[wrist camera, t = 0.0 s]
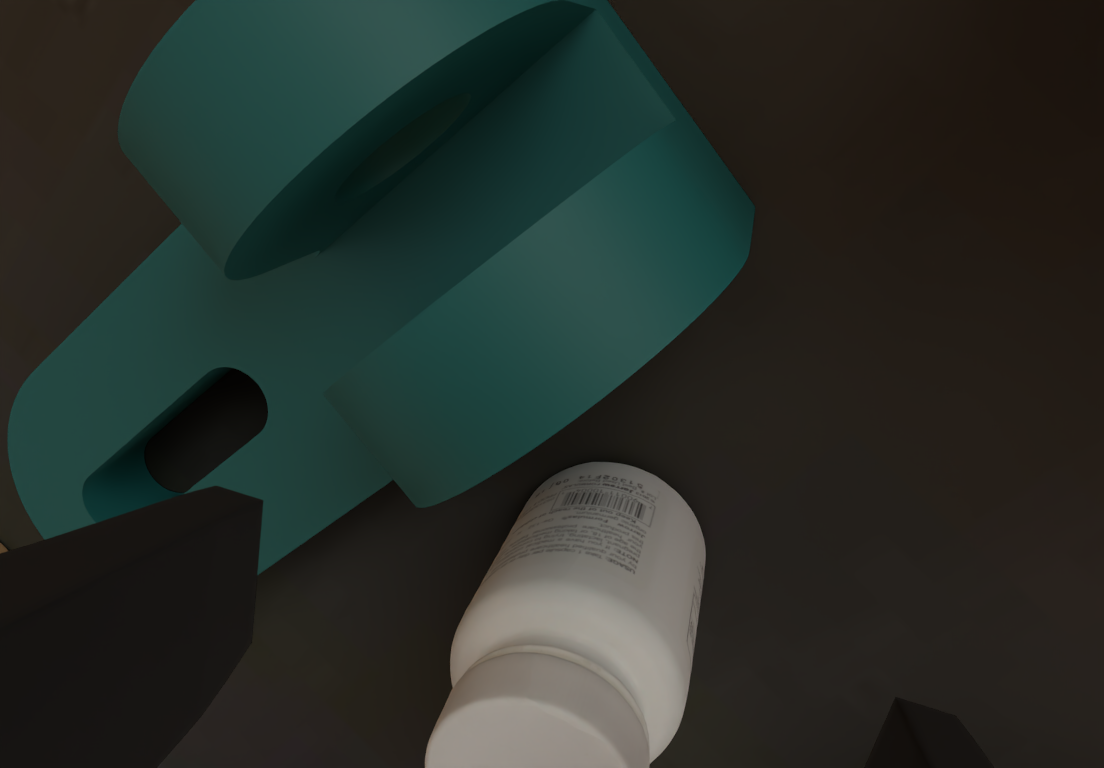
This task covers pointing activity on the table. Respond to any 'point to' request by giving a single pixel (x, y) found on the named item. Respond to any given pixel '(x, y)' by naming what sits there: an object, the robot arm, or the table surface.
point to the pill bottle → (578, 630)
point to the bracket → (383, 253)
